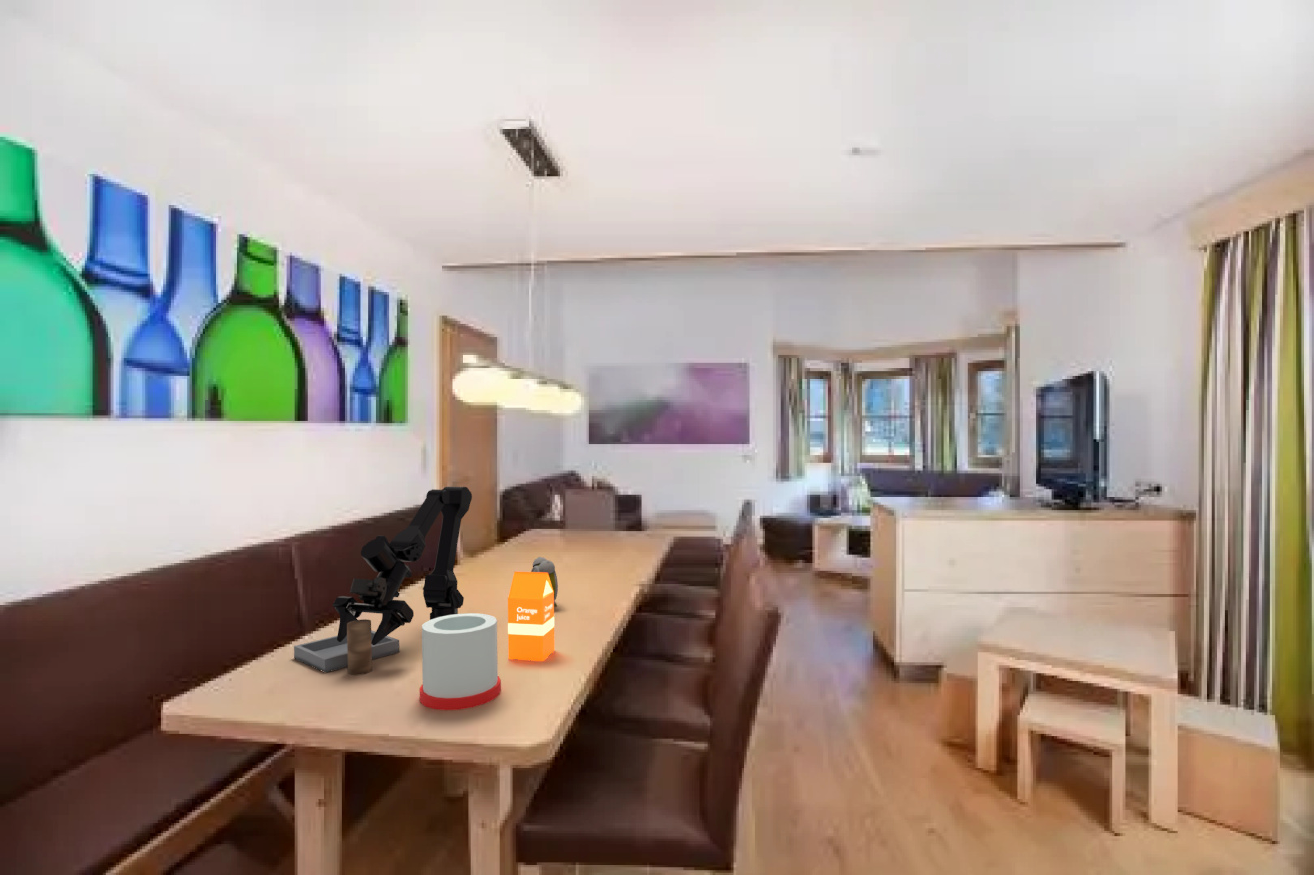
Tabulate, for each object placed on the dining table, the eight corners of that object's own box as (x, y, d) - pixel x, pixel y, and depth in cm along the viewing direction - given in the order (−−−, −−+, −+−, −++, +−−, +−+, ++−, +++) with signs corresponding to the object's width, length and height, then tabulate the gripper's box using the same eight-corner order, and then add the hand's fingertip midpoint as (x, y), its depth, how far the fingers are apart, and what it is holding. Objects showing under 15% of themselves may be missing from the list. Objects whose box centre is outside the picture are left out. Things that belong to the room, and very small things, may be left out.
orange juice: (543, 661, 158) (542, 576, 157) (508, 659, 159) (506, 574, 159) (555, 650, 165) (553, 569, 165) (521, 648, 167) (520, 568, 167)
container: (470, 674, 150) (469, 608, 150) (516, 691, 140) (515, 620, 139) (404, 696, 137) (402, 625, 137) (449, 717, 127) (448, 639, 127)
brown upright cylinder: (375, 667, 155) (374, 619, 155) (366, 674, 150) (365, 625, 150) (354, 667, 155) (353, 619, 155) (343, 675, 150) (342, 625, 150)
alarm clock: (529, 604, 210) (529, 556, 210) (550, 602, 213) (550, 554, 213) (541, 613, 200) (541, 562, 200) (563, 610, 203) (563, 560, 203)
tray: (366, 640, 176) (366, 628, 176) (399, 652, 166) (399, 639, 165) (294, 658, 162) (294, 645, 162) (324, 672, 152) (324, 659, 152)
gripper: (337, 562, 159) (301, 621, 148) (405, 565, 154) (372, 627, 143) (361, 588, 167) (328, 646, 156) (426, 592, 161) (397, 652, 151)
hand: (355, 642), depth 151 cm, fingers open, 9 cm apart
